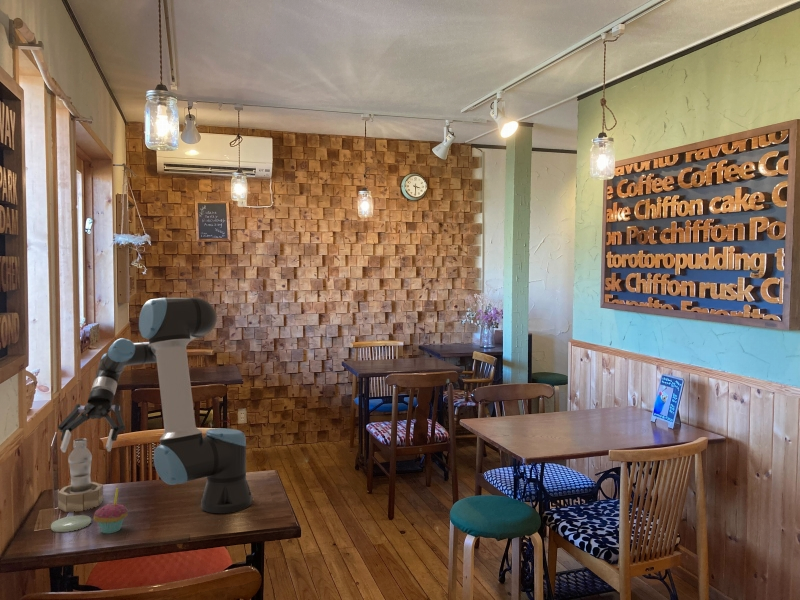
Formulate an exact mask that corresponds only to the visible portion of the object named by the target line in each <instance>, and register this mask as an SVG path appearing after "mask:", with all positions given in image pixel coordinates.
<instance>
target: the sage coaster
mask: <svg viewBox="0 0 800 600" xmlns="http://www.w3.org/2000/svg"><path fill="white" fill-rule="evenodd" d="M90 523H91V524H92V517H90V516H88V515H80V514H79V515H78V514H77V515H76V514H75V515H71V516H66V517H61V518H59V519H57V520H56V519H55V520H54V521H53V522H52V523H51V524H50V529H51V531H53V532H54V533H70V532H69V531H71V532H75V531H74V530H76V531H79V530H82V529H84V527H85V528H87V527H88V526H90V525H91V524H90ZM89 524H90V525H89ZM86 526H87V527H86ZM81 528H82V529H81ZM78 529H79V530H78Z"/></svg>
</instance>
